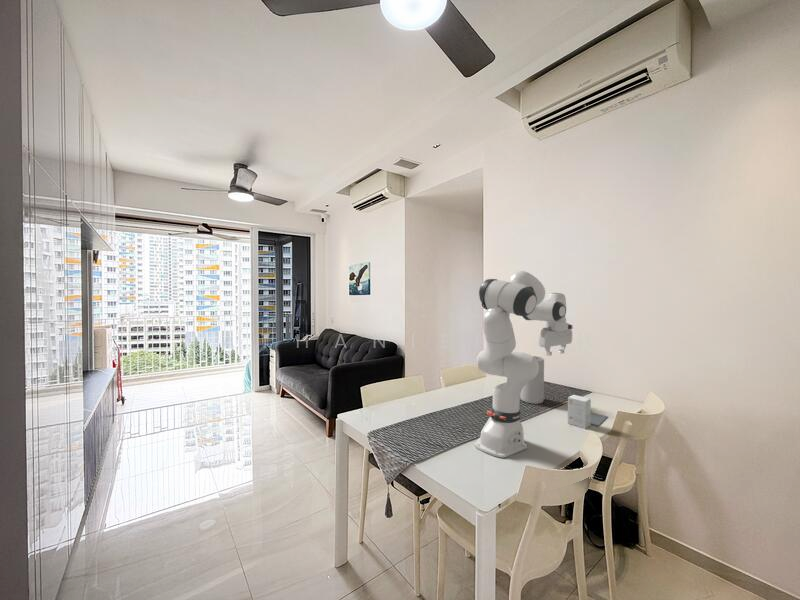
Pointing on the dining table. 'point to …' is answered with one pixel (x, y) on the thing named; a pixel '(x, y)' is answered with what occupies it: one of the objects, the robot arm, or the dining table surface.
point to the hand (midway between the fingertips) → (555, 354)
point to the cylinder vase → (534, 386)
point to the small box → (579, 411)
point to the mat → (596, 419)
